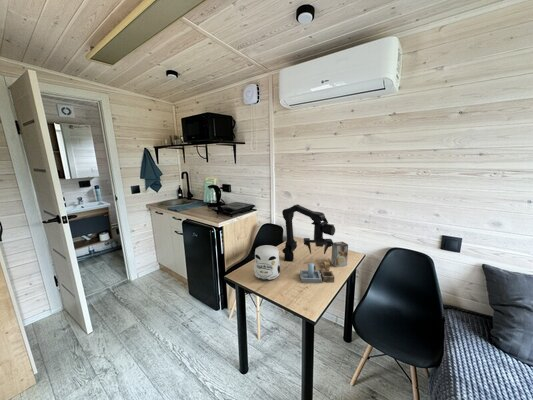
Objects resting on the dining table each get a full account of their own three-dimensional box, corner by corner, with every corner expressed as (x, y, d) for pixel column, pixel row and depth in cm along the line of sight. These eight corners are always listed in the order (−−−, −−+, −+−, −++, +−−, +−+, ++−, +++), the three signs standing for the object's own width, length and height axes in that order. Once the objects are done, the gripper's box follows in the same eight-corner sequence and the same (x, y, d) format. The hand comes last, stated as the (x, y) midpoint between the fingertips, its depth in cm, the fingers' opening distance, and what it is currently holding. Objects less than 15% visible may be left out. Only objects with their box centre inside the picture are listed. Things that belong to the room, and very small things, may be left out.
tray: (301, 282, 134) (301, 278, 134) (299, 273, 145) (300, 270, 144) (321, 283, 134) (321, 279, 133) (318, 274, 144) (318, 270, 143)
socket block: (322, 281, 135) (322, 276, 134) (320, 275, 142) (320, 270, 141) (334, 282, 134) (334, 277, 134) (331, 276, 141) (331, 271, 141)
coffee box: (341, 261, 161) (343, 241, 157) (347, 265, 155) (348, 244, 151) (330, 263, 158) (332, 242, 155) (335, 267, 152) (337, 246, 149)
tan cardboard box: (315, 273, 145) (315, 270, 145) (314, 266, 154) (314, 263, 153) (324, 274, 144) (325, 270, 144) (323, 267, 153) (323, 264, 153)
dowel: (308, 278, 137) (308, 265, 135) (307, 275, 141) (307, 262, 139) (313, 278, 137) (314, 265, 135) (312, 275, 141) (313, 263, 139)
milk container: (259, 285, 132) (258, 258, 128) (250, 271, 147) (250, 246, 144) (284, 279, 138) (285, 253, 134) (273, 266, 154) (273, 242, 150)
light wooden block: (324, 271, 147) (325, 264, 146) (323, 268, 151) (324, 261, 150) (329, 271, 147) (329, 264, 146) (328, 268, 151) (328, 261, 150)
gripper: (305, 235, 136) (304, 258, 139) (335, 236, 134) (334, 260, 137) (303, 229, 147) (303, 251, 150) (332, 230, 145) (330, 252, 148)
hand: (317, 253), depth 146 cm, fingers open, 9 cm apart
